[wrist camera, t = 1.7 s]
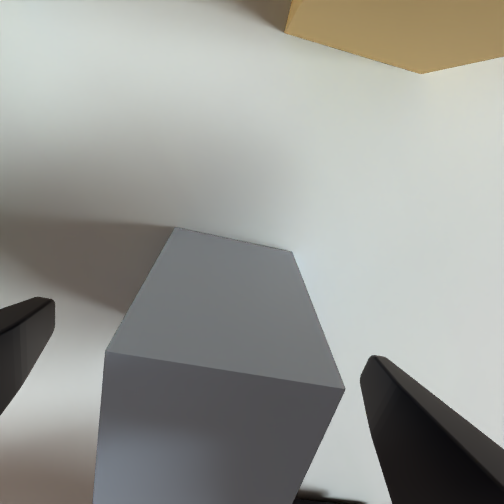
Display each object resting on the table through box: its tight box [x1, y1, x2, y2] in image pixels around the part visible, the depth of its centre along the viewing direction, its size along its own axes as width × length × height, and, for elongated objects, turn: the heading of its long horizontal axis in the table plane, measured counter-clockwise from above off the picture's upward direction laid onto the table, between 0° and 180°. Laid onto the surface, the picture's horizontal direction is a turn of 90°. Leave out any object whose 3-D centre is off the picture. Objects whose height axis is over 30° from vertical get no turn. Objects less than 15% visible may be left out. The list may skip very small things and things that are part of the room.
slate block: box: [93, 227, 345, 504], centre depth 9 cm, size 4×4×6 cm
